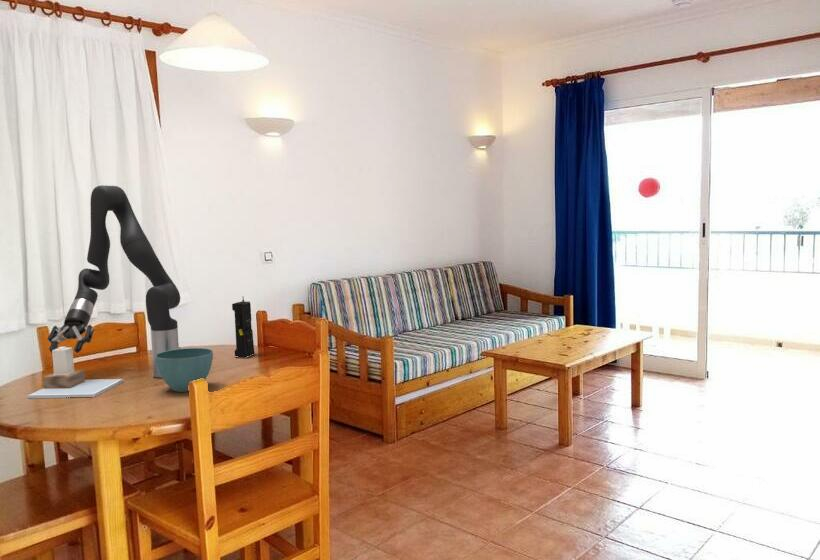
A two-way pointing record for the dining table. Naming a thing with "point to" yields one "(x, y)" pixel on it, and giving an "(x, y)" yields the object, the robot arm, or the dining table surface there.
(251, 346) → the portable radio
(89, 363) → the dining table surface
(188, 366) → the teal bowl
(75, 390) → the build board
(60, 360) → the block
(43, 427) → the dining table surface
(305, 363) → the dining table surface
